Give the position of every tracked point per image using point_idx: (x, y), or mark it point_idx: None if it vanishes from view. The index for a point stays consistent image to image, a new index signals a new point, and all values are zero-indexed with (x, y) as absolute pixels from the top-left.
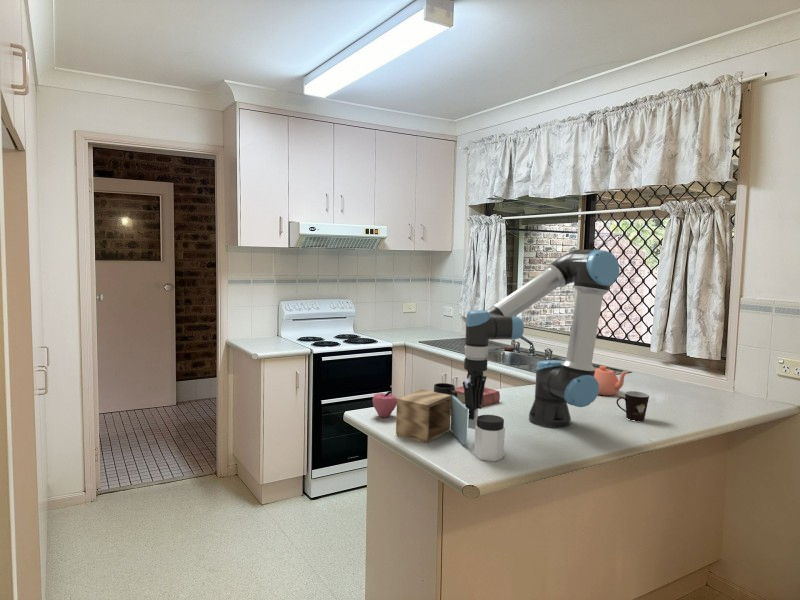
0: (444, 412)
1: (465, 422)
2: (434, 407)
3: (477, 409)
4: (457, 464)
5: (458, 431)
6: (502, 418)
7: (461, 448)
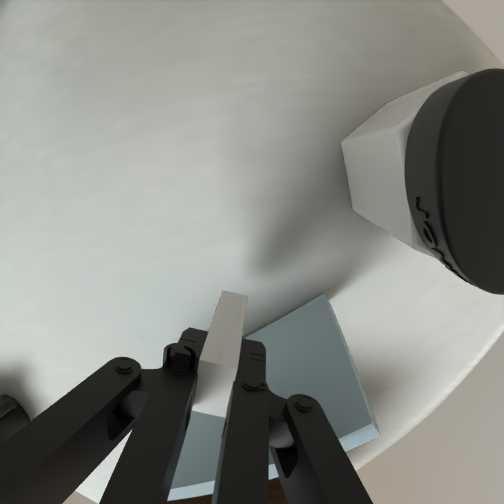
0: None
1: (352, 363)
2: None
3: (212, 362)
4: None
5: None
6: (490, 78)
7: (353, 301)
